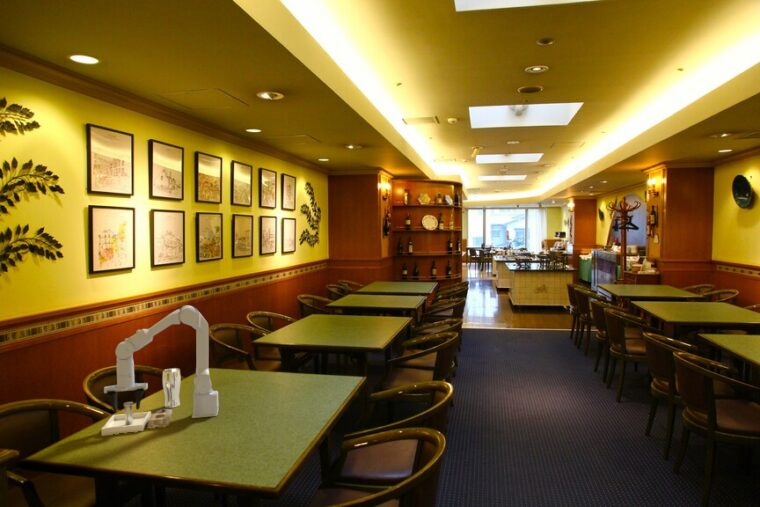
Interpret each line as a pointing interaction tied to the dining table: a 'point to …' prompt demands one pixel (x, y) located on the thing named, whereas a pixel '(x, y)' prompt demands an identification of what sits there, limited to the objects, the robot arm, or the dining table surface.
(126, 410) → the pin
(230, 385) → the dining table surface
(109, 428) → the tray
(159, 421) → the block
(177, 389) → the beer glass
